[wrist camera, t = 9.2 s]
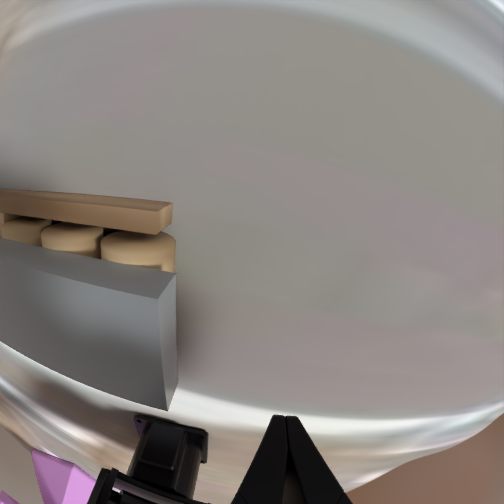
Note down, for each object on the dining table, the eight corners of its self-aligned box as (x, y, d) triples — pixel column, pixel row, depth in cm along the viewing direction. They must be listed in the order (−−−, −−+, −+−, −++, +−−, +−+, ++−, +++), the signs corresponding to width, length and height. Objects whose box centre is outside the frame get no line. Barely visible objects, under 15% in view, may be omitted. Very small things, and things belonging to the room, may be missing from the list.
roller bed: (182, 362, 16) (167, 403, 13) (-16, 291, 16) (-38, 307, 13) (187, 204, 13) (160, 222, 9) (-32, 188, 13) (-60, 198, 10)
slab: (178, 381, 12) (167, 411, 10) (14, 323, 12) (-3, 338, 10) (176, 273, 10) (157, 299, 8) (-7, 235, 10) (-30, 247, 8)
